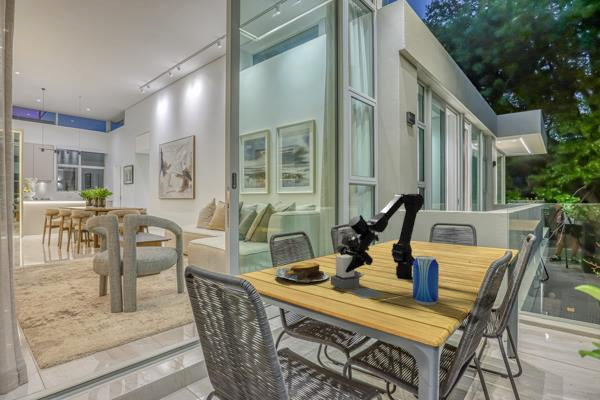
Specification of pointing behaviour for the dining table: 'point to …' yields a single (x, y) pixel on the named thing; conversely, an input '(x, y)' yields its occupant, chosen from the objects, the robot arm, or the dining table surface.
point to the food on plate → (302, 273)
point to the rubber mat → (365, 293)
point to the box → (343, 267)
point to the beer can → (425, 280)
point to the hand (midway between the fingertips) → (342, 270)
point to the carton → (346, 281)
